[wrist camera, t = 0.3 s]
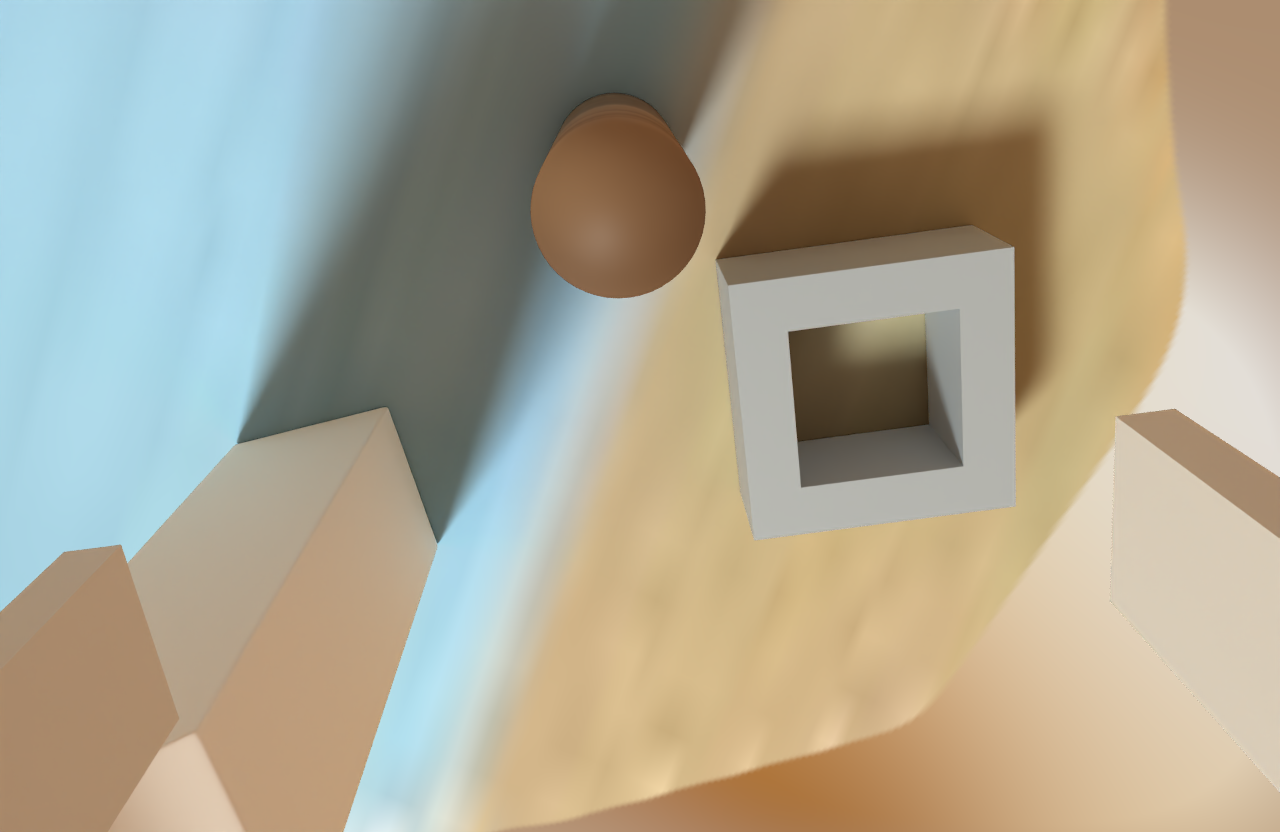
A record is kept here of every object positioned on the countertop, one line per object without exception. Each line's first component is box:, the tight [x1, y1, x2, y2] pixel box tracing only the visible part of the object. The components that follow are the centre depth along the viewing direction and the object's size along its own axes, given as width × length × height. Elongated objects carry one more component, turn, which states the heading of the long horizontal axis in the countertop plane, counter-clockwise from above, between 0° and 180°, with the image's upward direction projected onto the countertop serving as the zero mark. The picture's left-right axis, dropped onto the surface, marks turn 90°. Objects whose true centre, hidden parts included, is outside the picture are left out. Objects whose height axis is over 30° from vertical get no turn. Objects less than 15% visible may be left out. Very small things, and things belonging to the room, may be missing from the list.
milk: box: [108, 407, 437, 832], centre depth 29 cm, size 6×6×22 cm
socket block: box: [716, 225, 1016, 540], centre depth 36 cm, size 9×9×4 cm
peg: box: [531, 93, 706, 298], centre depth 29 cm, size 4×4×12 cm
